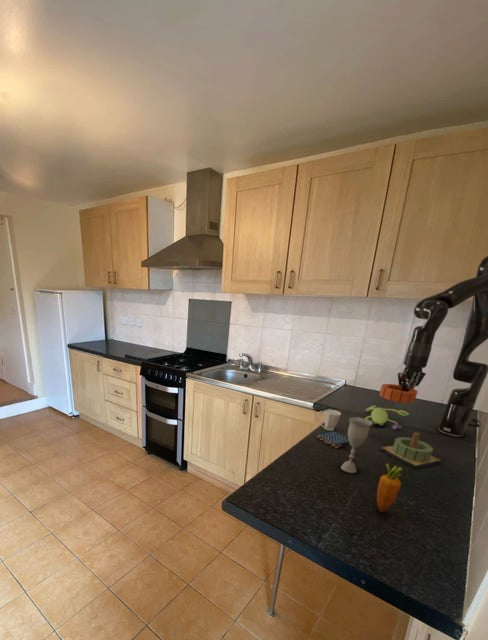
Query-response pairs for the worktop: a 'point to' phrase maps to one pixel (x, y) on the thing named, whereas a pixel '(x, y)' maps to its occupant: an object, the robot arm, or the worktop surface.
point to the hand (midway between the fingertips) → (405, 396)
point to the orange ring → (397, 393)
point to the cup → (330, 419)
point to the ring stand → (412, 445)
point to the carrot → (388, 488)
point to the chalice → (356, 439)
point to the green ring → (412, 449)
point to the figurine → (383, 416)
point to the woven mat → (333, 439)
